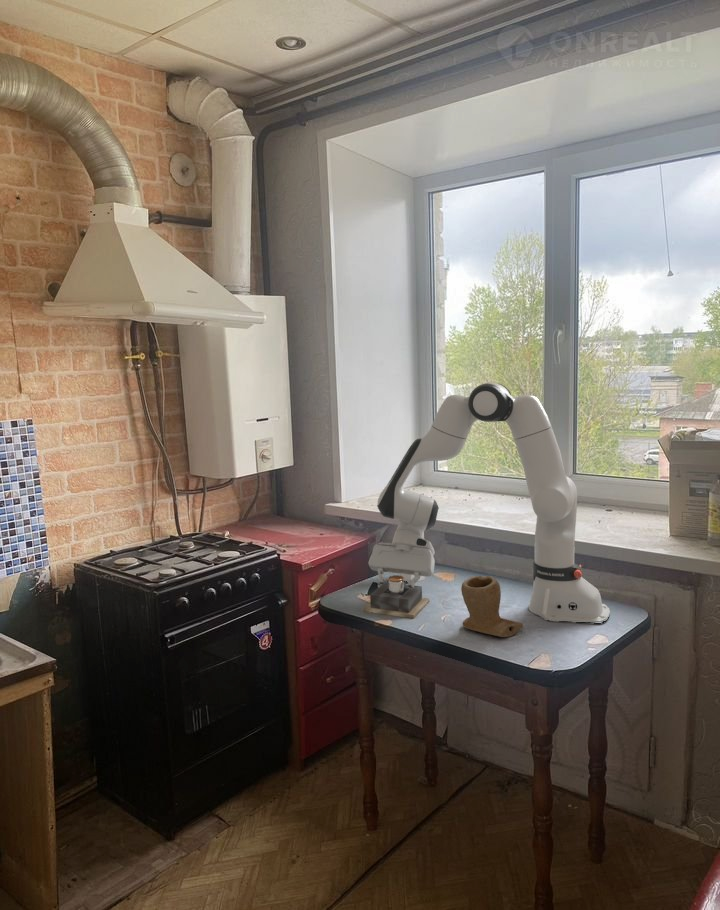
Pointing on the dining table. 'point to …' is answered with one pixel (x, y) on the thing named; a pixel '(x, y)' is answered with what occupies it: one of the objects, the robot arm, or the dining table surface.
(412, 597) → the socket board
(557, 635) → the dining table surface
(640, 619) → the dining table surface
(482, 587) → the tan boot-shaped piece
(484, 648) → the dining table surface
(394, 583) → the glass jar
